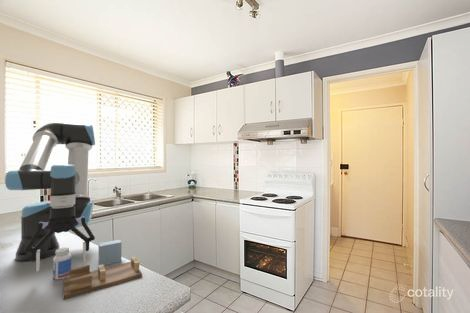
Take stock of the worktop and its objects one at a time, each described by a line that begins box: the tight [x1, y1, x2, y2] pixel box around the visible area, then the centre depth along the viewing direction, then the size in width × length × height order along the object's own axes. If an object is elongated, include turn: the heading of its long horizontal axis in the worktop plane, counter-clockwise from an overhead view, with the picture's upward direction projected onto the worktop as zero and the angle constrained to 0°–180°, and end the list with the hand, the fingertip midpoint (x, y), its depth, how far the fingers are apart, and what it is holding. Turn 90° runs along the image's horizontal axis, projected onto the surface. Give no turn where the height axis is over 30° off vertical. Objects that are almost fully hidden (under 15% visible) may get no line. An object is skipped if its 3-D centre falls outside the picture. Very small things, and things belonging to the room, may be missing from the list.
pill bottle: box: [52, 247, 72, 280], centre depth 85 cm, size 6×5×10 cm
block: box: [98, 239, 122, 266], centre depth 97 cm, size 4×8×8 cm, turn 126°
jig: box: [63, 256, 143, 300], centre depth 83 cm, size 13×23×4 cm, turn 126°
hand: (62, 264), depth 84 cm, fingers open, 13 cm apart
